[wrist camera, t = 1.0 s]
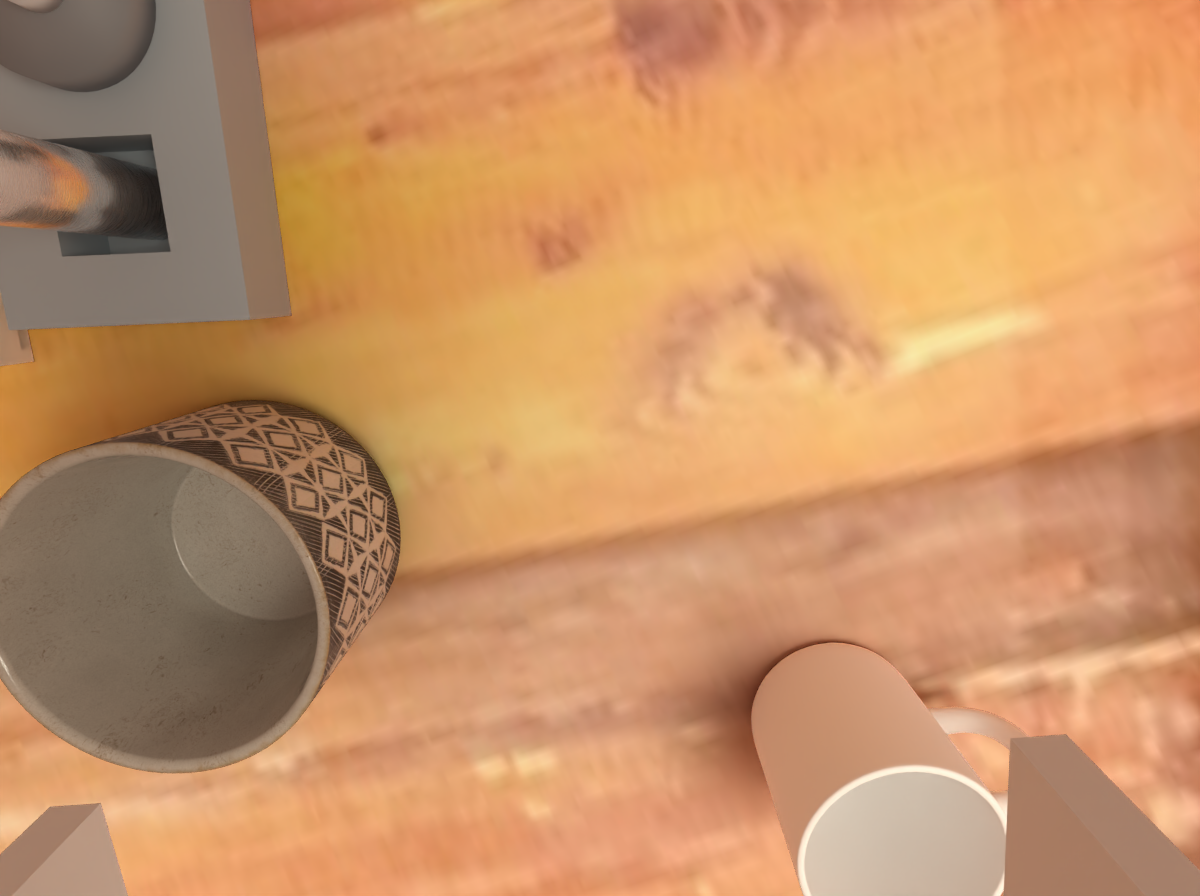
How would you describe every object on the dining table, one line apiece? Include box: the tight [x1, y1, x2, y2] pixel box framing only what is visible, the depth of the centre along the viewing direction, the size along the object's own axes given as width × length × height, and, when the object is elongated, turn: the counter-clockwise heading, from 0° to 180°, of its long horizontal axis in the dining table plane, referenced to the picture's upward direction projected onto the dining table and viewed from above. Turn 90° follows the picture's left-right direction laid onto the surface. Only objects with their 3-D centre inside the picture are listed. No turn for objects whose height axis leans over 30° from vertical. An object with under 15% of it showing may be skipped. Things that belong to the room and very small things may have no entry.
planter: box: [0, 400, 401, 773], centre depth 31 cm, size 13×13×10 cm
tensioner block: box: [0, 0, 292, 330], centre depth 29 cm, size 16×10×7 cm, turn 2°
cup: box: [751, 643, 1029, 896], centre depth 33 cm, size 8×12×10 cm
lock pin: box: [0, 129, 168, 240], centre depth 26 cm, size 4×4×12 cm
